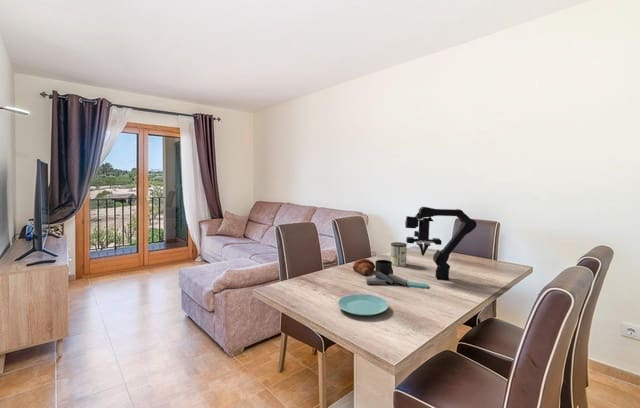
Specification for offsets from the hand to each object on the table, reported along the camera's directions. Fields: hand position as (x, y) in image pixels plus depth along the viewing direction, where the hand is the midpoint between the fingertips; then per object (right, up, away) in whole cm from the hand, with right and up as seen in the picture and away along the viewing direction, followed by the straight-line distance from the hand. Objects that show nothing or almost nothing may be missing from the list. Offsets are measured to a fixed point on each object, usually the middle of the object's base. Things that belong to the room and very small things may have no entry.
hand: (422, 255), depth 177 cm
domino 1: (-24, -12, -9) cm, 28 cm away
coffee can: (-7, -11, +29) cm, 32 cm away
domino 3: (-22, -14, -9) cm, 28 cm away
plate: (-41, -17, -42) cm, 61 cm away
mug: (-21, -13, +1) cm, 25 cm away
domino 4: (-13, -13, -12) cm, 22 cm away
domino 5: (-3, -14, -15) cm, 21 cm away
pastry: (-32, -13, +15) cm, 38 cm away
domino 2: (-19, -13, -10) cm, 25 cm away
